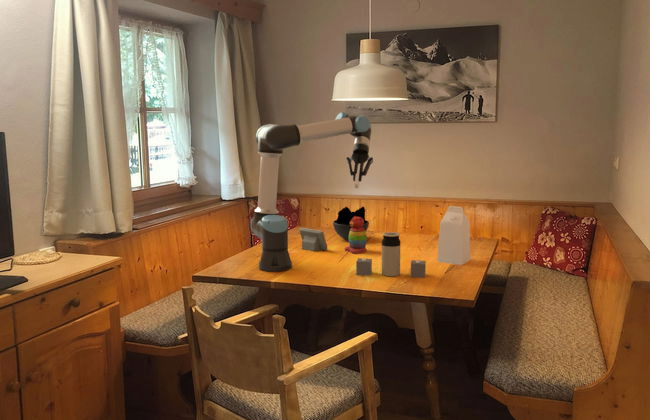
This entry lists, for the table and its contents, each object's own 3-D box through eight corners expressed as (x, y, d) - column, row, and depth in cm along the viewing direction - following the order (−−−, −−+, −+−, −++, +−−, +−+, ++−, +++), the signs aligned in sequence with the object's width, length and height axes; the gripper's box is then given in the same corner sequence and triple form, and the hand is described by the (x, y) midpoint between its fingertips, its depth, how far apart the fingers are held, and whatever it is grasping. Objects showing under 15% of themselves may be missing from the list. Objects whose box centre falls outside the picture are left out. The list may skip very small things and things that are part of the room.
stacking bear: (343, 250, 302) (343, 216, 299) (360, 248, 306) (360, 214, 304) (353, 254, 292) (353, 219, 290) (371, 252, 297) (371, 217, 294)
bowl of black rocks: (327, 241, 322) (327, 207, 319) (340, 235, 340) (340, 202, 337) (361, 244, 314) (362, 210, 311) (373, 237, 332) (373, 204, 330)
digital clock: (329, 250, 301) (329, 230, 299) (315, 253, 296) (314, 232, 294) (310, 245, 314) (310, 225, 312) (296, 247, 308) (296, 227, 307)
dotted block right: (424, 277, 249) (425, 263, 248) (410, 277, 250) (410, 263, 249) (425, 274, 255) (425, 260, 254) (411, 273, 256) (411, 259, 255)
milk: (470, 260, 279) (472, 206, 275) (461, 265, 270) (463, 209, 266) (446, 256, 286) (448, 204, 282) (437, 261, 276) (438, 207, 272)
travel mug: (390, 277, 249) (390, 236, 246) (377, 274, 255) (378, 233, 253) (403, 274, 254) (404, 234, 251) (391, 271, 260) (391, 231, 257)
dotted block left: (370, 275, 253) (370, 261, 252) (356, 275, 254) (356, 261, 253) (371, 272, 259) (371, 258, 258) (358, 271, 260) (358, 257, 259)
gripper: (375, 153, 286) (371, 191, 273) (348, 153, 289) (343, 190, 275) (374, 142, 280) (369, 181, 267) (347, 142, 283) (341, 180, 269)
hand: (356, 186), depth 271 cm, fingers closed
